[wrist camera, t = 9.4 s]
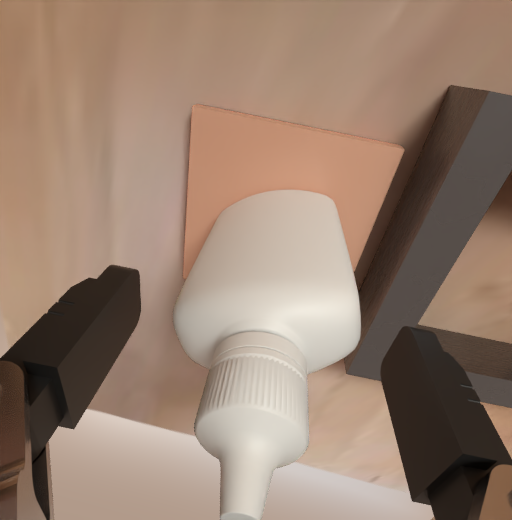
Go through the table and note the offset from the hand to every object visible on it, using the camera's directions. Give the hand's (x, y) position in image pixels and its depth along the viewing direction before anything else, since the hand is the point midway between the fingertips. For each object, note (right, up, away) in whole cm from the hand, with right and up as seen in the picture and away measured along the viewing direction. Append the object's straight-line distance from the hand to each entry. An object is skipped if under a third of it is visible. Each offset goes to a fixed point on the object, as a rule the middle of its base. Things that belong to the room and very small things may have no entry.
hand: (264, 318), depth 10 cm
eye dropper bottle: (+1, +4, +6) cm, 7 cm away
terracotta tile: (+1, +4, +7) cm, 8 cm away
